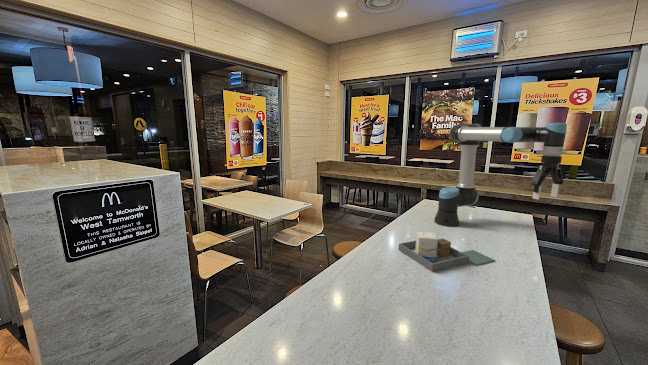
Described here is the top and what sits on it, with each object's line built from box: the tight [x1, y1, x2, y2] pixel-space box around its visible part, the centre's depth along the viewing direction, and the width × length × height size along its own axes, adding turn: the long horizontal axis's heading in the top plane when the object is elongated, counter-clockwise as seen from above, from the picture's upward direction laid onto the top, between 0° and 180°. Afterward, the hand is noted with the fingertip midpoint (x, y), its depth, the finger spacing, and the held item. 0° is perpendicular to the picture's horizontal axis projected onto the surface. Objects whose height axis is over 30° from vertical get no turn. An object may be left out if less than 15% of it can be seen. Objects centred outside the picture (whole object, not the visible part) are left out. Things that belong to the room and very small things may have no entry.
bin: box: [398, 240, 470, 273], centre depth 132 cm, size 24×22×4 cm
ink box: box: [414, 231, 438, 263], centre depth 130 cm, size 9×8×12 cm
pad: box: [461, 249, 496, 267], centre depth 131 cm, size 12×12×1 cm
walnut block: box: [436, 238, 452, 258], centre depth 134 cm, size 5×6×7 cm
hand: (545, 197), depth 135 cm, fingers open, 13 cm apart
